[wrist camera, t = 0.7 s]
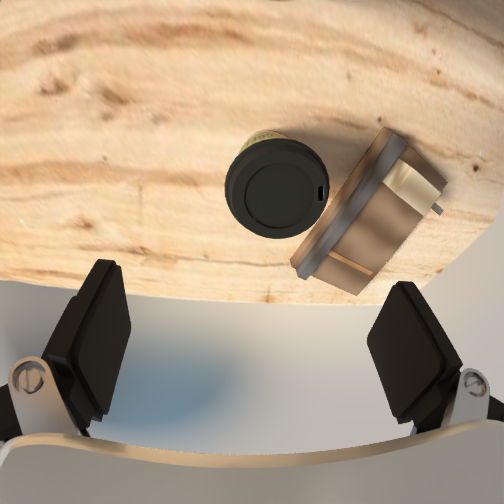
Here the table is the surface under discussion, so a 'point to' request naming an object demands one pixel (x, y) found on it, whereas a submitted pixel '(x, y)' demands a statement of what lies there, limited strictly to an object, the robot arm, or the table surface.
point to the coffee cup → (276, 186)
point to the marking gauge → (412, 187)
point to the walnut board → (363, 220)
